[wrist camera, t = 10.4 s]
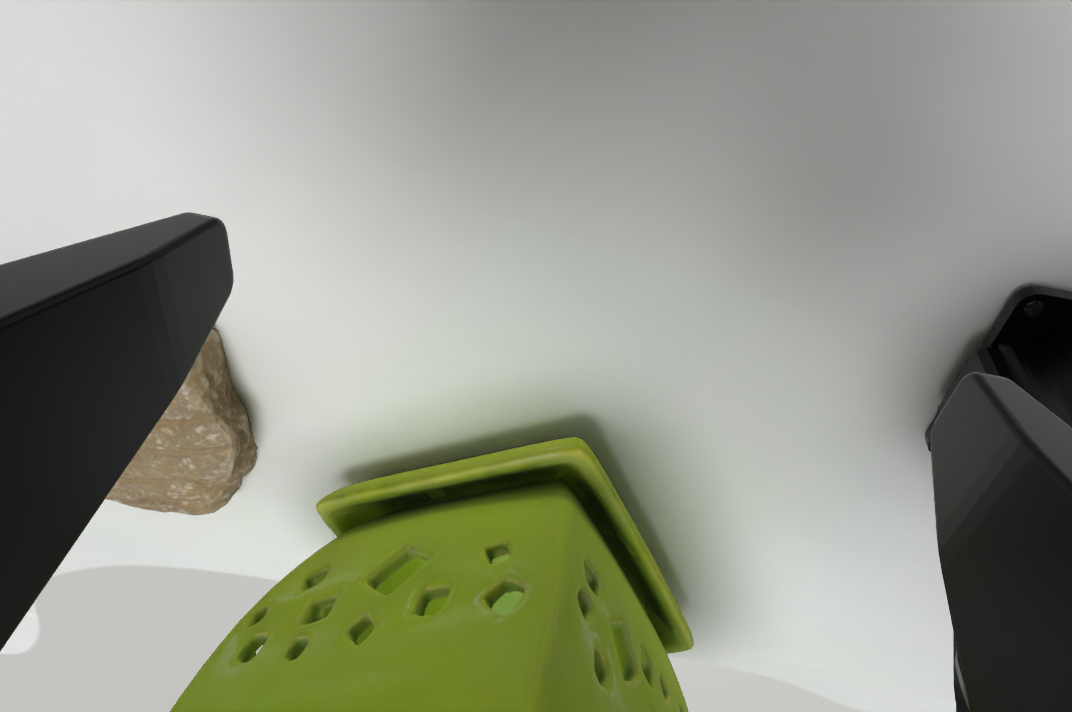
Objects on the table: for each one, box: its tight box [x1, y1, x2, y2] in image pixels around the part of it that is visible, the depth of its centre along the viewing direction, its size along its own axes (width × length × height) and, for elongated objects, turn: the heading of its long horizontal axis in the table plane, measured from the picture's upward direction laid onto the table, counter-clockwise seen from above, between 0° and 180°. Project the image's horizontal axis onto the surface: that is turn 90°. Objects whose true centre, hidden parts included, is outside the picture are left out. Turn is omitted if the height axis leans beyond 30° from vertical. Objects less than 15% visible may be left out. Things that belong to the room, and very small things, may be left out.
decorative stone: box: [105, 329, 257, 515], centre depth 31 cm, size 10×16×4 cm, turn 94°
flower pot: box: [170, 437, 693, 712], centre depth 28 cm, size 14×14×13 cm
